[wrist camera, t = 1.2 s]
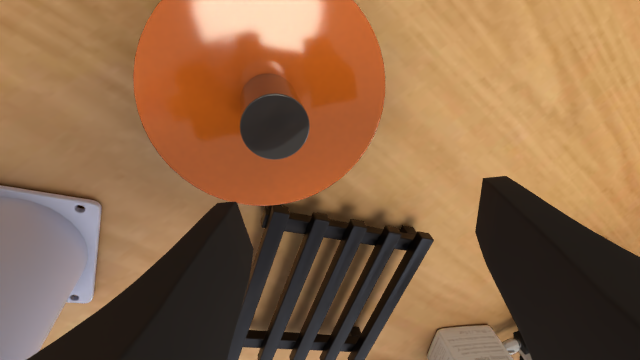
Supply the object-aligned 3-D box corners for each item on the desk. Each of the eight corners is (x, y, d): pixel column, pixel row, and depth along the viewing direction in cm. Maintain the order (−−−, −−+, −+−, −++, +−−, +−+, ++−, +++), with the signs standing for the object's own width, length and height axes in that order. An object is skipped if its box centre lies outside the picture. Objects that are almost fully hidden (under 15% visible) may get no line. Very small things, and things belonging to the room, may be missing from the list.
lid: (170, 205, 17) (151, 264, 14) (105, -43, 12) (47, -56, 8) (370, 183, 19) (401, 230, 15) (386, -42, 14) (438, -52, 10)
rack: (221, 333, 28) (220, 363, 25) (267, 188, 22) (270, 211, 20) (353, 340, 31) (362, 367, 29) (420, 218, 26) (436, 240, 24)
